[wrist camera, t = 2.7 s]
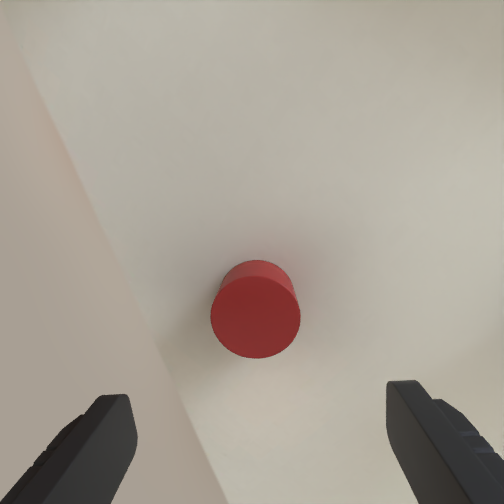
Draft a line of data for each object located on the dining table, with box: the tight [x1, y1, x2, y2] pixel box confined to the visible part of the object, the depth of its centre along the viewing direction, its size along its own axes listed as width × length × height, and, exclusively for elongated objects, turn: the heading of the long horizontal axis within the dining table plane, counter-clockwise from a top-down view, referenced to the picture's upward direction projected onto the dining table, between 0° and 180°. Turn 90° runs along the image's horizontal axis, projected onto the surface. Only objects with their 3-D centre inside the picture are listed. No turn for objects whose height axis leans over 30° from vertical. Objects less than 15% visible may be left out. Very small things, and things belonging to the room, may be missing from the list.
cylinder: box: [211, 260, 300, 358], centre depth 16 cm, size 5×5×3 cm
